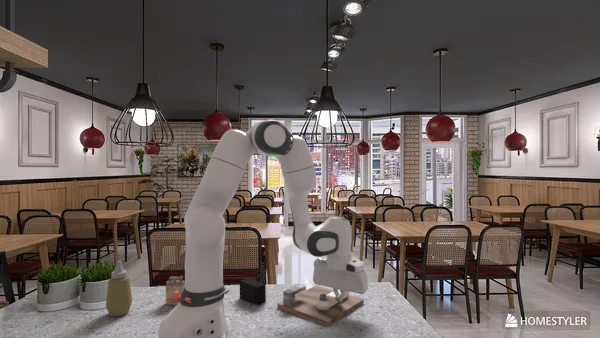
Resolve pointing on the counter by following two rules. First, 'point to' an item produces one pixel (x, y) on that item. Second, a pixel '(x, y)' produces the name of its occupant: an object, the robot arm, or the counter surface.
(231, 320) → the counter surface
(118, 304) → the squeeze bottle
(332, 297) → the link
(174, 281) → the small jar
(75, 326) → the counter surface
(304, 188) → the robot arm
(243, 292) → the digital camera
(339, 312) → the pivot base
